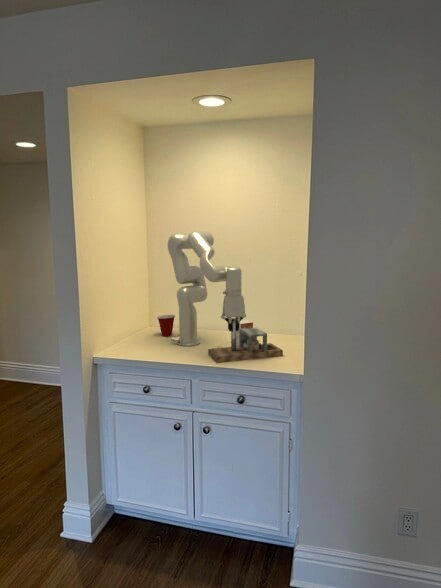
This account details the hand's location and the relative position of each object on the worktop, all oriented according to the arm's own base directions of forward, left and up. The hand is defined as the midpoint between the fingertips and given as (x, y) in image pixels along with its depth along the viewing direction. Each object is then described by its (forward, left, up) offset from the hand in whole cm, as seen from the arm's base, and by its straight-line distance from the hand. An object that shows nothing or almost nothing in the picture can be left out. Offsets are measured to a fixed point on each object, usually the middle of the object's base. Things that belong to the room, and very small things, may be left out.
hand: (233, 330), depth 208 cm
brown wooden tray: (+6, 0, -13) cm, 14 cm away
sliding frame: (+6, 0, -10) cm, 12 cm away
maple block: (+10, 0, -10) cm, 14 cm away
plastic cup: (-23, +54, -13) cm, 60 cm away
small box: (+12, +18, -13) cm, 25 cm away
